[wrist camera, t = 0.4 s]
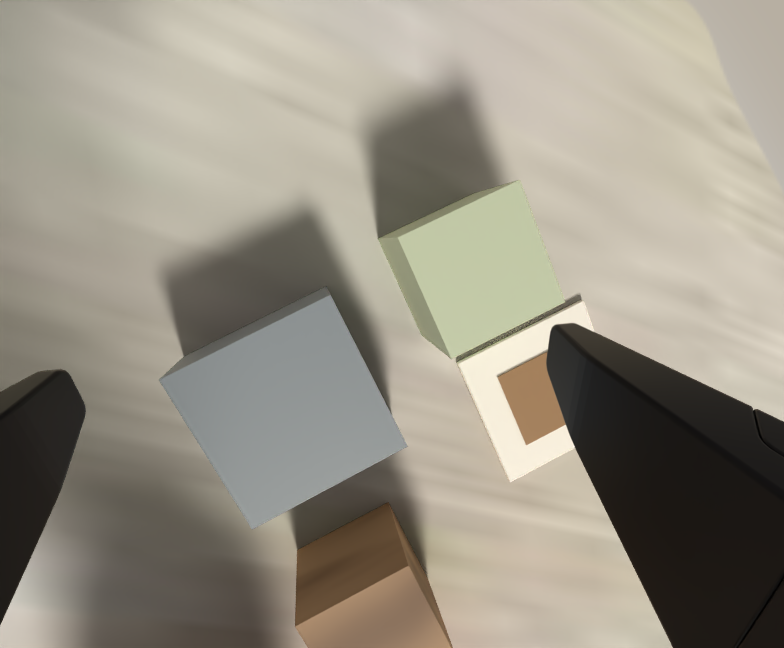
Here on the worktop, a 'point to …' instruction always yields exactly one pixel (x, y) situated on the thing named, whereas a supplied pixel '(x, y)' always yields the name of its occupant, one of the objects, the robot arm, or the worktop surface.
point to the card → (521, 394)
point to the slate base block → (284, 407)
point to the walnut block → (366, 589)
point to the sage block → (473, 269)
